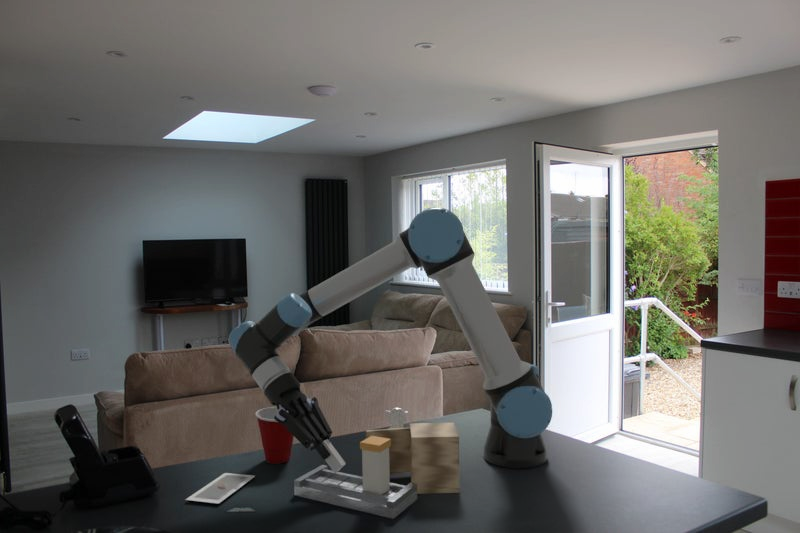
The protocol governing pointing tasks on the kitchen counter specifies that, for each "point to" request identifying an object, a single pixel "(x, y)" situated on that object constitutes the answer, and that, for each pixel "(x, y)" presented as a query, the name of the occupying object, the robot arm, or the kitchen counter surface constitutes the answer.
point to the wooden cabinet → (425, 455)
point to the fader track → (353, 492)
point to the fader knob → (375, 464)
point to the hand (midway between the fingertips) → (340, 468)
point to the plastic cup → (274, 436)
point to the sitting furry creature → (396, 417)
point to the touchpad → (220, 488)
